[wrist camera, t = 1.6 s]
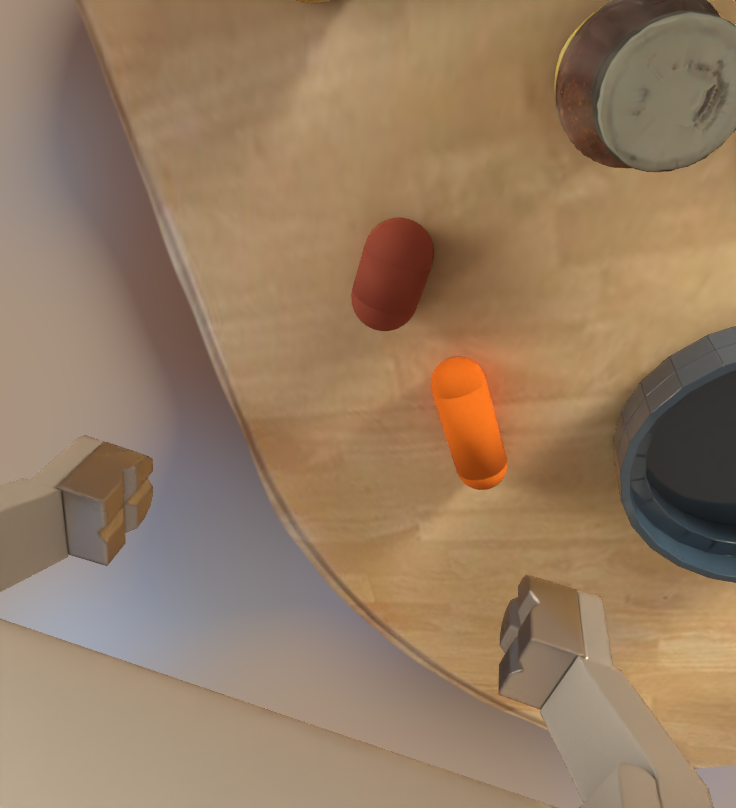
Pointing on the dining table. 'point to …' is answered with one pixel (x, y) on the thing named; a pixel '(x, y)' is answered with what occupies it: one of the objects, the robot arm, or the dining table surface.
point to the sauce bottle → (649, 84)
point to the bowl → (684, 457)
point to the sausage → (392, 274)
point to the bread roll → (313, 0)
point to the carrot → (469, 422)
